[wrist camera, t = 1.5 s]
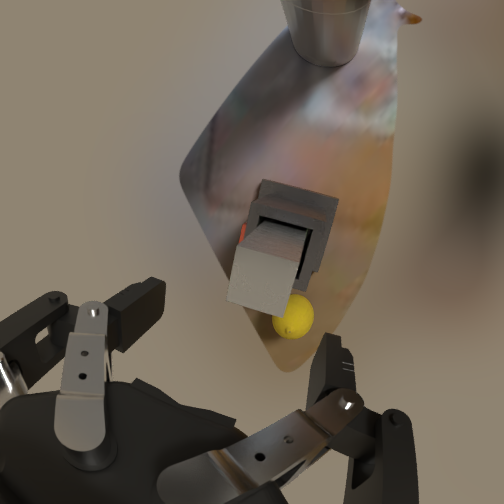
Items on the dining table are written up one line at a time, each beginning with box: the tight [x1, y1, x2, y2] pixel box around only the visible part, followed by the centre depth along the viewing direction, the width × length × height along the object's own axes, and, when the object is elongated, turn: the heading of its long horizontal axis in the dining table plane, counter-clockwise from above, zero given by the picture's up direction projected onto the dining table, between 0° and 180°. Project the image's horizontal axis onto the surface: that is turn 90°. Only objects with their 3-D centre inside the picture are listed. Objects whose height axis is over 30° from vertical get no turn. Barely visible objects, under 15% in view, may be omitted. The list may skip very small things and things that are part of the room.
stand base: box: [239, 179, 339, 292], centre depth 31 cm, size 10×10×12 cm
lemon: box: [272, 294, 314, 339], centre depth 36 cm, size 6×6×8 cm
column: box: [226, 217, 308, 318], centre depth 26 cm, size 4×4×19 cm
